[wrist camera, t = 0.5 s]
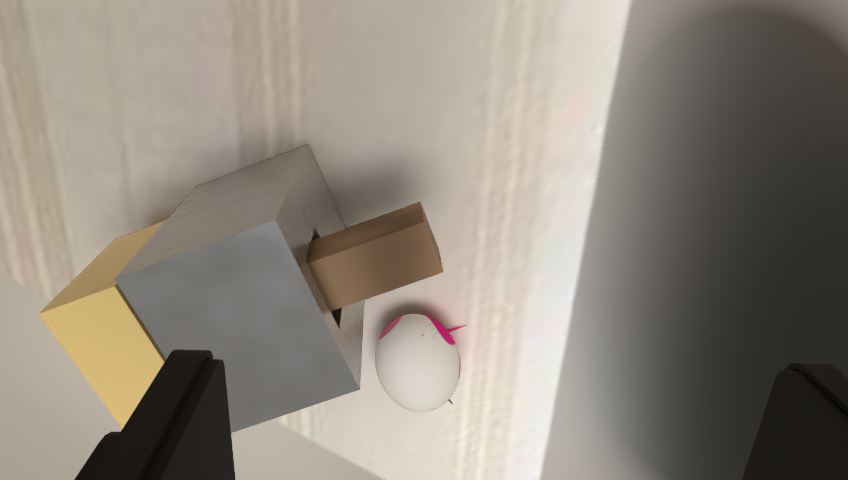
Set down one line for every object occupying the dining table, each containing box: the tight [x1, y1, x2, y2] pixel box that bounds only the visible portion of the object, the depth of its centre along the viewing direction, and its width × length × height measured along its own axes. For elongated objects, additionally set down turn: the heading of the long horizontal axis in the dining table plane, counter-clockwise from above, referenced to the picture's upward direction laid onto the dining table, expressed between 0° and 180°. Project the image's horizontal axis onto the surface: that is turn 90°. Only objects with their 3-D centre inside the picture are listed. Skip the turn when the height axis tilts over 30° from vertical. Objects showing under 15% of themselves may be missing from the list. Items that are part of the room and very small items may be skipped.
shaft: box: [306, 202, 443, 311], centre depth 33 cm, size 19×3×3 cm, turn 110°
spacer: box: [39, 220, 166, 429], centre depth 34 cm, size 4×9×9 cm, turn 20°
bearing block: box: [114, 144, 364, 433], centre depth 35 cm, size 8×10×14 cm
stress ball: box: [375, 314, 466, 412], centre depth 44 cm, size 8×8×7 cm
